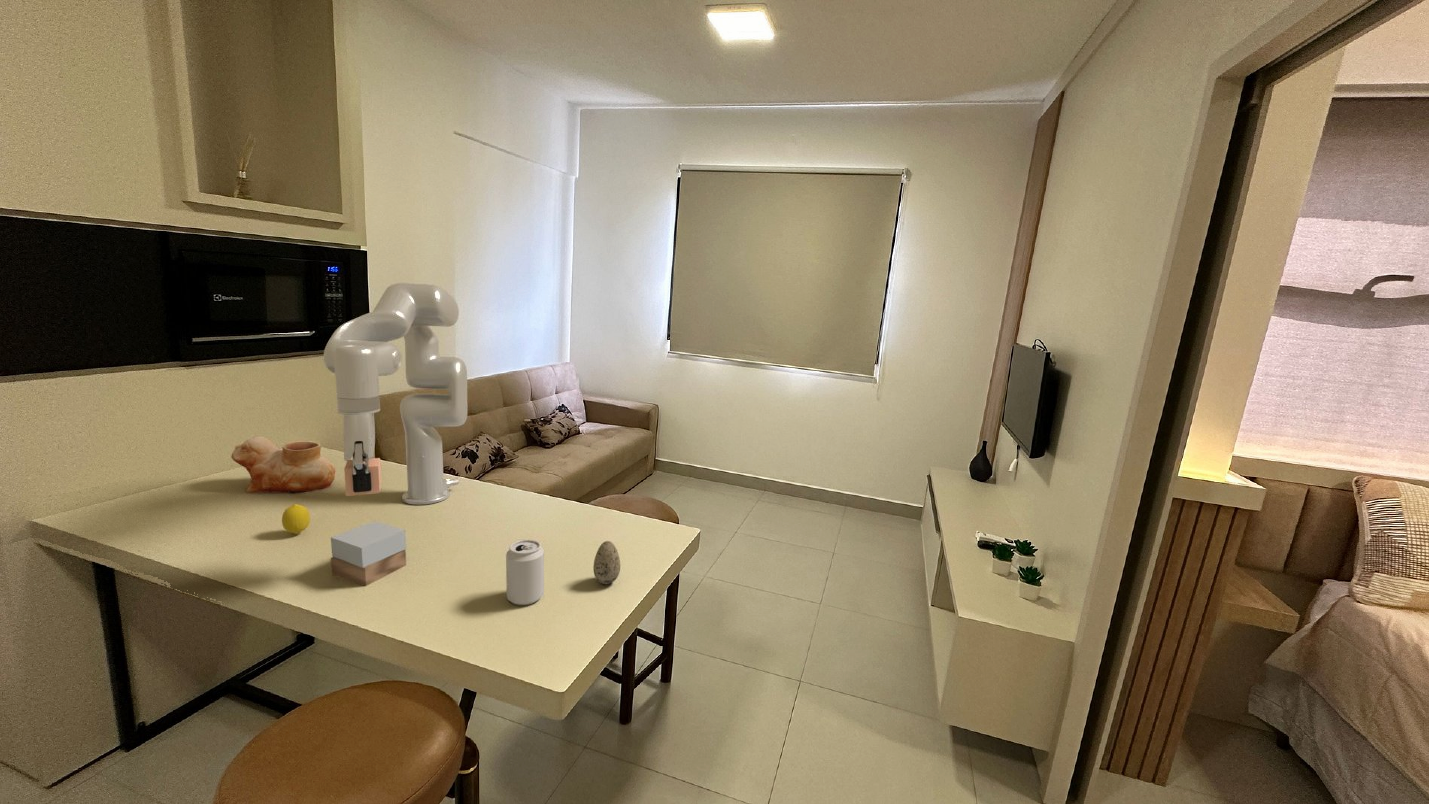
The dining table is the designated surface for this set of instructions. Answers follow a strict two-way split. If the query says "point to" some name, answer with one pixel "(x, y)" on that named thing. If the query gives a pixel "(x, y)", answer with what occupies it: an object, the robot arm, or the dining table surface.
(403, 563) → the tower base
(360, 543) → the tower top
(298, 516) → the lemon
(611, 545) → the decorative egg
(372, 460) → the block
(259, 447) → the ceramic vessel
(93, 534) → the dining table surface
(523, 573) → the can
